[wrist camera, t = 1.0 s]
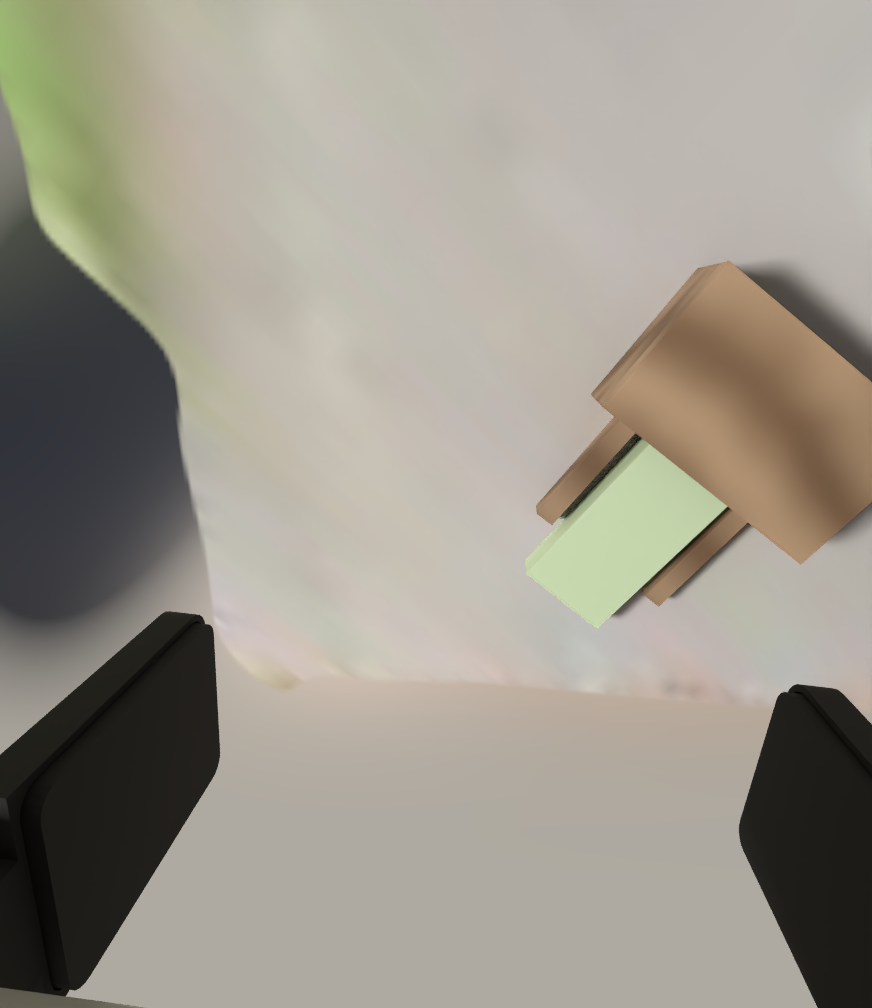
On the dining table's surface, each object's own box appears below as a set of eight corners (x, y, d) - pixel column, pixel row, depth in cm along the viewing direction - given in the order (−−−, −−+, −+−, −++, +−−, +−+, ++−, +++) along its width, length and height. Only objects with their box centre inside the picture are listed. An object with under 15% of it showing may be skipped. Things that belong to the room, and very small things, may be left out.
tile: (591, 610, 39) (596, 629, 37) (525, 557, 39) (525, 573, 36) (713, 493, 36) (727, 506, 34) (641, 433, 35) (651, 442, 33)
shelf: (676, 613, 38) (698, 654, 34) (511, 487, 37) (511, 512, 32) (881, 422, 33) (941, 441, 28) (697, 268, 32) (729, 261, 27)
